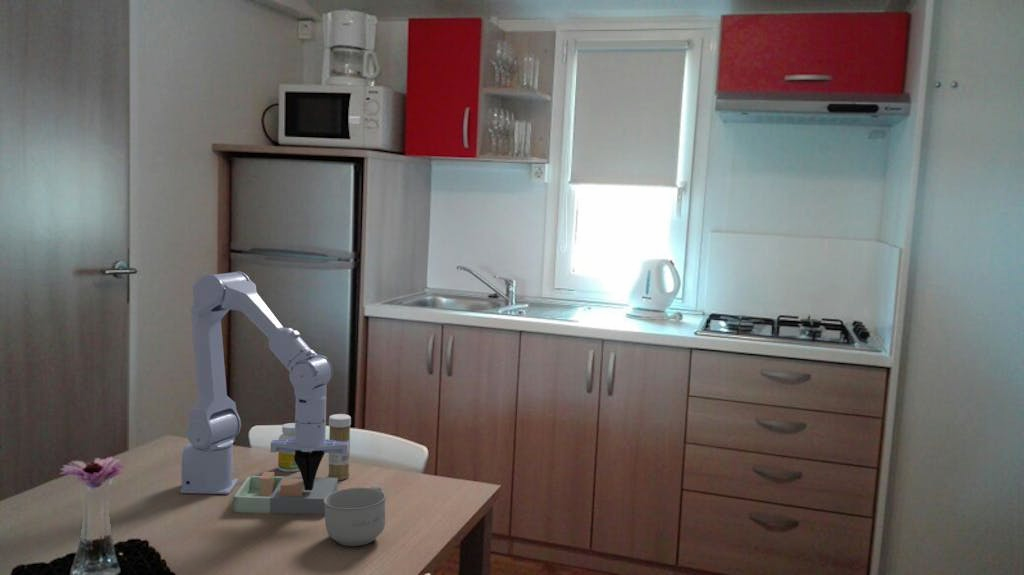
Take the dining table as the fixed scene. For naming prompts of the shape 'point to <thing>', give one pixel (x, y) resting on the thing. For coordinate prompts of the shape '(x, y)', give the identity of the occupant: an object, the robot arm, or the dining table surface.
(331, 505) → the teacup
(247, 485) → the tray
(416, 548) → the dining table surface
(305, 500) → the slate board
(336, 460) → the sprinkles bottle
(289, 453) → the supplement bottle
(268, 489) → the tile
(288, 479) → the tile
